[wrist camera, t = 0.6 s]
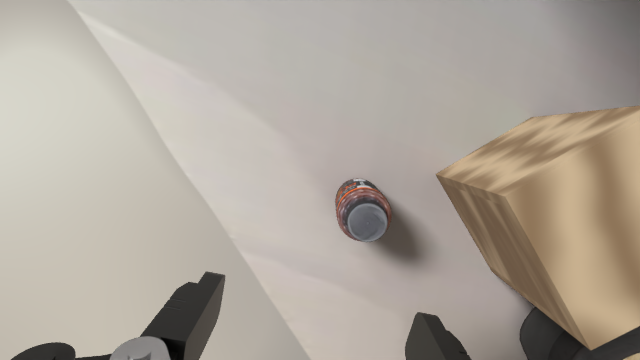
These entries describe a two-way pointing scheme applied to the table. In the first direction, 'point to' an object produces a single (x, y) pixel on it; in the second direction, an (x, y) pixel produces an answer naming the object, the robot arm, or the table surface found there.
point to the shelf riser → (561, 216)
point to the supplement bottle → (362, 210)
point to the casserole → (571, 342)
